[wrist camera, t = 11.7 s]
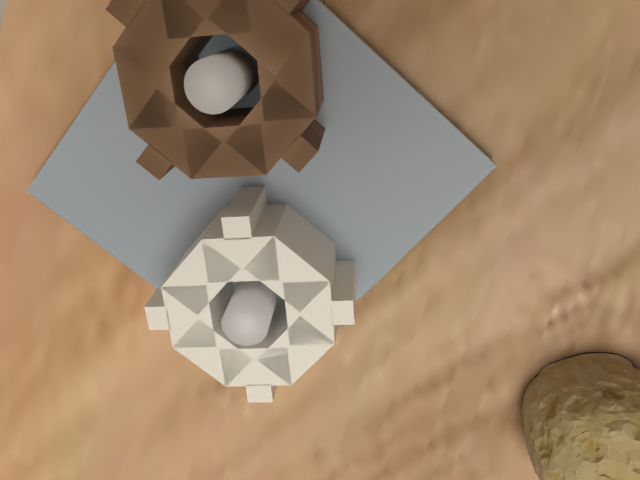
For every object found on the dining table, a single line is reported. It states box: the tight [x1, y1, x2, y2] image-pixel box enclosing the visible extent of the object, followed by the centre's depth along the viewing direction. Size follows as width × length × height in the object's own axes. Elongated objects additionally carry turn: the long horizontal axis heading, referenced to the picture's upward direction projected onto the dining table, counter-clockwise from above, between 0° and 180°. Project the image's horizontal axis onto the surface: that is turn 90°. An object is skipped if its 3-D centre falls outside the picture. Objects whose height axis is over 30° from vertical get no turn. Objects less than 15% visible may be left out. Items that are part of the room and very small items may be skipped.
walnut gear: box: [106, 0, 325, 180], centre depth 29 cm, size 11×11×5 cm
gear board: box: [27, 0, 496, 346], centre depth 32 cm, size 19×19×8 cm
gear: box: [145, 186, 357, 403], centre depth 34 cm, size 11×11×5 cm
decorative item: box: [522, 353, 640, 480], centre depth 37 cm, size 10×10×10 cm
